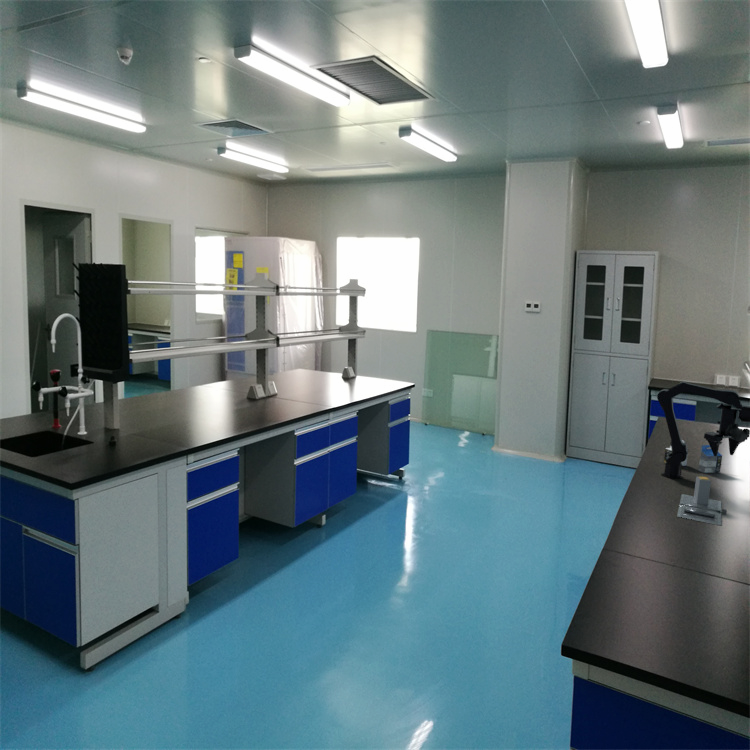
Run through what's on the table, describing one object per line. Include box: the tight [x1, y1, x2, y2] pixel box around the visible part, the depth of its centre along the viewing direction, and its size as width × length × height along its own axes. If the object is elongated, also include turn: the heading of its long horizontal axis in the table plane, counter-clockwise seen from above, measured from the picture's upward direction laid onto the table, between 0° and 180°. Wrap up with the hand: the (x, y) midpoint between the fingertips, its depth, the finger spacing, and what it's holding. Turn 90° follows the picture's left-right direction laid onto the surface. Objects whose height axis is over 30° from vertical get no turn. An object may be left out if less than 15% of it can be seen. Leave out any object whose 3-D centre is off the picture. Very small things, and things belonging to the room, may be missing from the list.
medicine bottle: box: [663, 439, 689, 467], centre depth 292 cm, size 7×7×12 cm
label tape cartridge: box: [697, 444, 723, 474], centre depth 281 cm, size 9×4×12 cm, turn 105°
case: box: [676, 493, 728, 526], centre depth 230 cm, size 29×16×2 cm, turn 151°
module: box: [693, 476, 712, 504], centre depth 236 cm, size 4×4×10 cm
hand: (723, 455), depth 261 cm, fingers open, 9 cm apart
